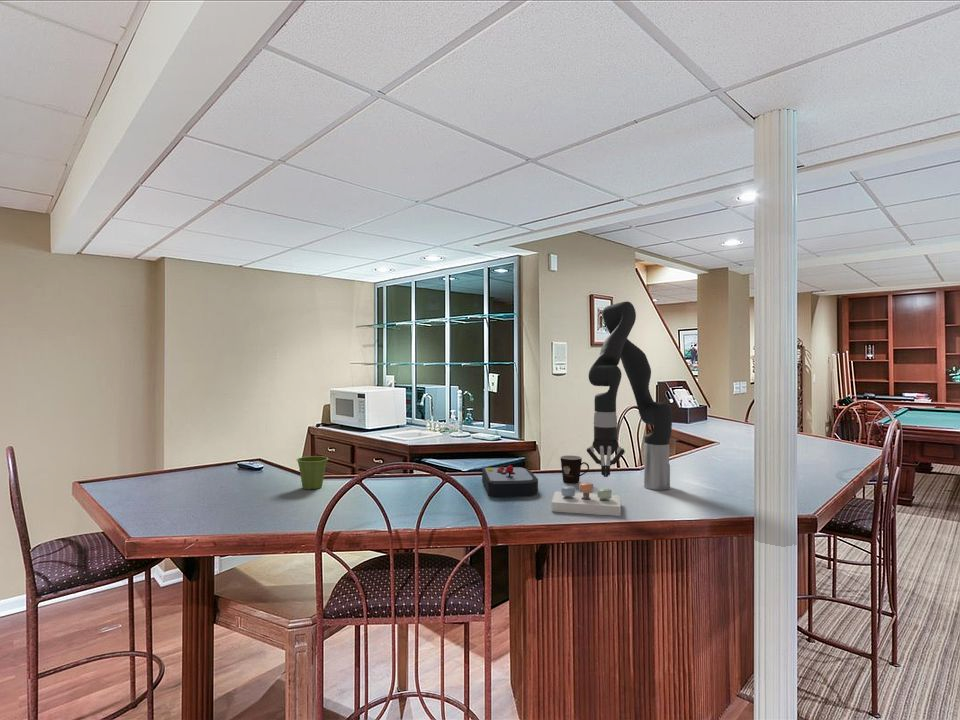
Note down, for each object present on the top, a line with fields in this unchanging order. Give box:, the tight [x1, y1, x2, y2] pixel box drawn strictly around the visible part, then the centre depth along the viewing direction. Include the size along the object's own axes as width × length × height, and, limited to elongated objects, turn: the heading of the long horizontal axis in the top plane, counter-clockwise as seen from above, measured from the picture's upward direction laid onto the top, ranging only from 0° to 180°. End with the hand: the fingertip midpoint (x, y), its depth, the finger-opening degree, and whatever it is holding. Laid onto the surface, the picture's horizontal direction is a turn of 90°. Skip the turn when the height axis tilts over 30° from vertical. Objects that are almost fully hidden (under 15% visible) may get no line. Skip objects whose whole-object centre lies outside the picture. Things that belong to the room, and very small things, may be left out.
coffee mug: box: [559, 454, 590, 485], centre depth 212 cm, size 12×9×10 cm
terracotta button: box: [578, 482, 594, 500], centre depth 177 cm, size 5×5×6 cm
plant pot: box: [296, 455, 329, 490], centre depth 204 cm, size 12×12×11 cm
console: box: [551, 491, 622, 517], centre depth 177 cm, size 22×14×3 cm, turn 77°
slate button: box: [560, 485, 576, 499], centre depth 179 cm, size 5×5×6 cm
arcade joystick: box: [481, 465, 539, 499], centre depth 204 cm, size 28×19×10 cm
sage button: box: [596, 487, 613, 501], centre depth 176 cm, size 5×5×6 cm
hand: (605, 476), depth 176 cm, fingers closed
